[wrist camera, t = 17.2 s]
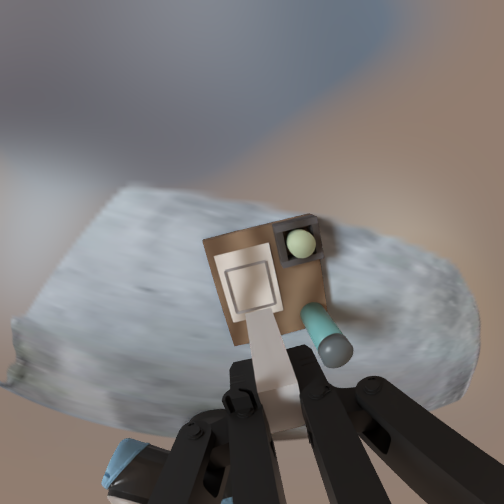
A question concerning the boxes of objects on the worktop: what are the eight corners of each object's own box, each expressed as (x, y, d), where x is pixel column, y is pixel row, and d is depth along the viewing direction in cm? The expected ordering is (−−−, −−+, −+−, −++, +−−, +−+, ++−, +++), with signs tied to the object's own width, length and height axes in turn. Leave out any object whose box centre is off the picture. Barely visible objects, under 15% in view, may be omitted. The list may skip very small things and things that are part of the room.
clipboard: (234, 342, 45) (235, 354, 41) (203, 239, 40) (200, 245, 36) (326, 318, 45) (333, 328, 42) (309, 213, 40) (316, 216, 37)
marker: (313, 328, 44) (338, 372, 32) (294, 317, 43) (315, 361, 32) (329, 309, 43) (359, 348, 32) (310, 296, 42) (337, 336, 31)
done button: (287, 255, 39) (292, 261, 37) (282, 231, 38) (287, 235, 36) (311, 249, 39) (317, 254, 37) (307, 225, 38) (313, 228, 36)
